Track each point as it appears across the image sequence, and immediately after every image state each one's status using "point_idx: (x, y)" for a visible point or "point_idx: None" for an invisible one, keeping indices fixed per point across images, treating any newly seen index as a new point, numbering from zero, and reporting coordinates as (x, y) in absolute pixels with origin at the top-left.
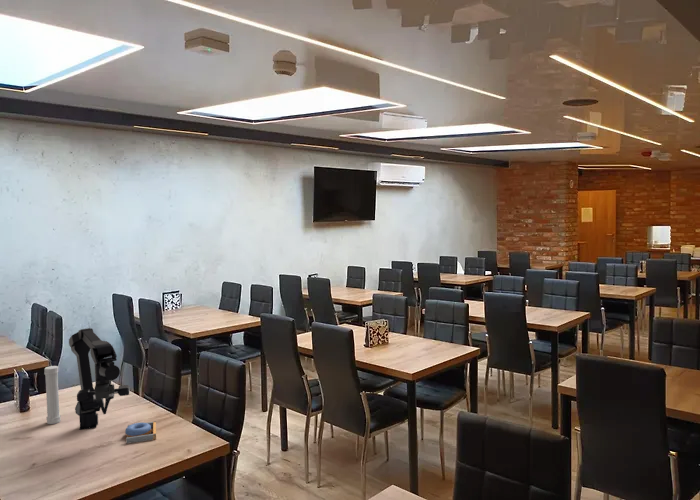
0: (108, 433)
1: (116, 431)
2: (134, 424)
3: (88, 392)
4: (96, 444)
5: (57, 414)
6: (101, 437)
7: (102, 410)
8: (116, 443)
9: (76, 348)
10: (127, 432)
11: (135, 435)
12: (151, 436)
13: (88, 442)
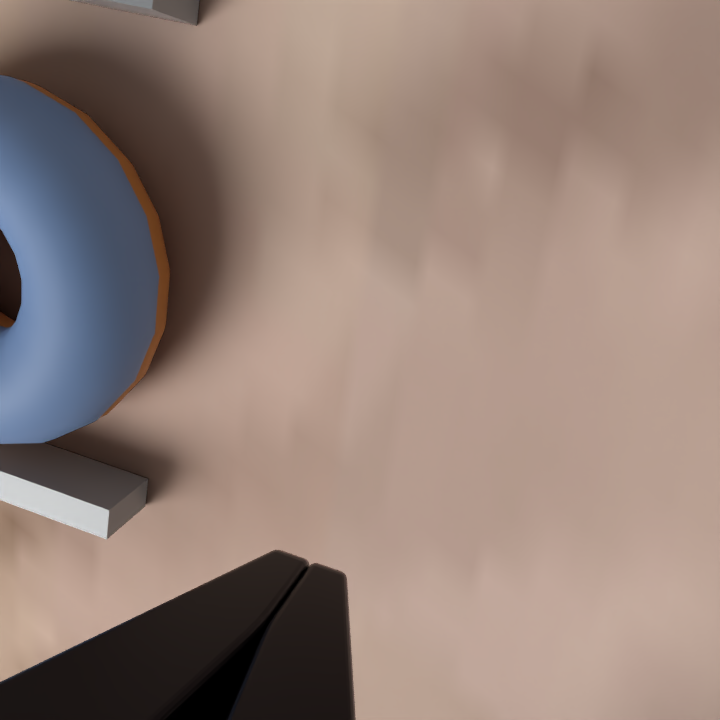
0: (372, 553)
1: (273, 550)
2: None
3: None
4: (612, 234)
5: None
6: (482, 476)
7: (330, 673)
8: (330, 83)
9: None
10: (113, 200)
11: (35, 88)
12: None
13: (702, 404)
